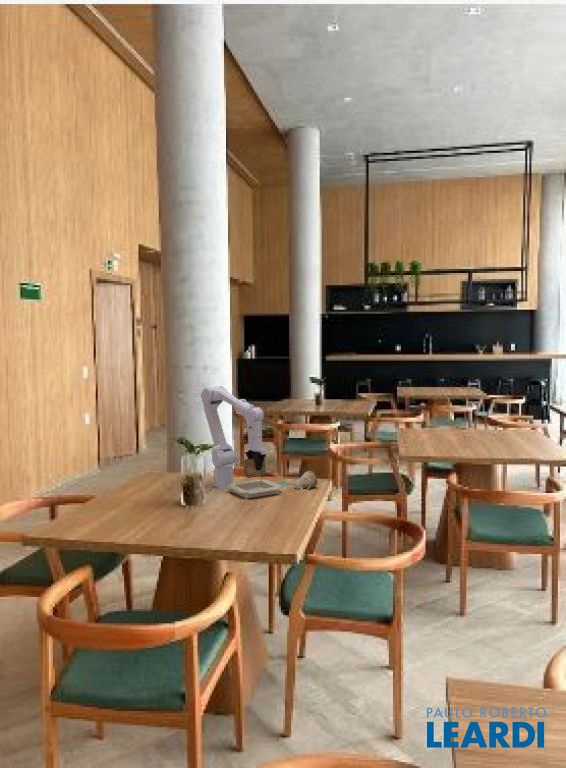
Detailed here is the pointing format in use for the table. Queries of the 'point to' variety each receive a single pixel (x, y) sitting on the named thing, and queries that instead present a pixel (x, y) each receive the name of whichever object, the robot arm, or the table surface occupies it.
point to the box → (253, 468)
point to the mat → (284, 483)
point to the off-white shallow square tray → (254, 488)
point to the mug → (306, 481)
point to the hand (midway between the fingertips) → (256, 469)
